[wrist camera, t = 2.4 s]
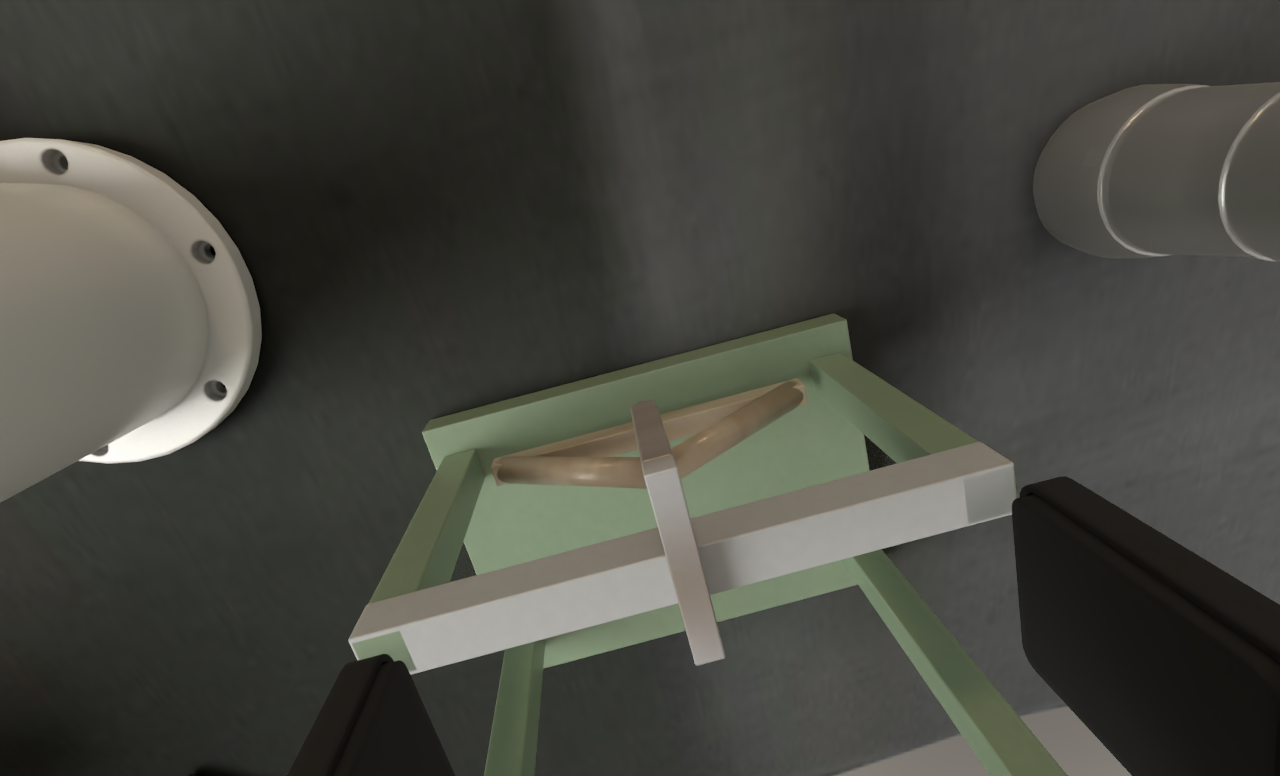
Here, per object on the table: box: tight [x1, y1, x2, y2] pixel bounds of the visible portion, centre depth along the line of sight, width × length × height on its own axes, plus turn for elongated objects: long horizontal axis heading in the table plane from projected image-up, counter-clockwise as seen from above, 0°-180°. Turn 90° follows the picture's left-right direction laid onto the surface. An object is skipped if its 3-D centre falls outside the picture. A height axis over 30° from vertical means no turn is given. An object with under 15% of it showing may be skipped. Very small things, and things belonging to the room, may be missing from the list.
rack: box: [349, 313, 1067, 776], centre depth 20 cm, size 13×18×22 cm
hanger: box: [491, 378, 808, 666], centre depth 21 cm, size 6×13×12 cm, turn 104°
